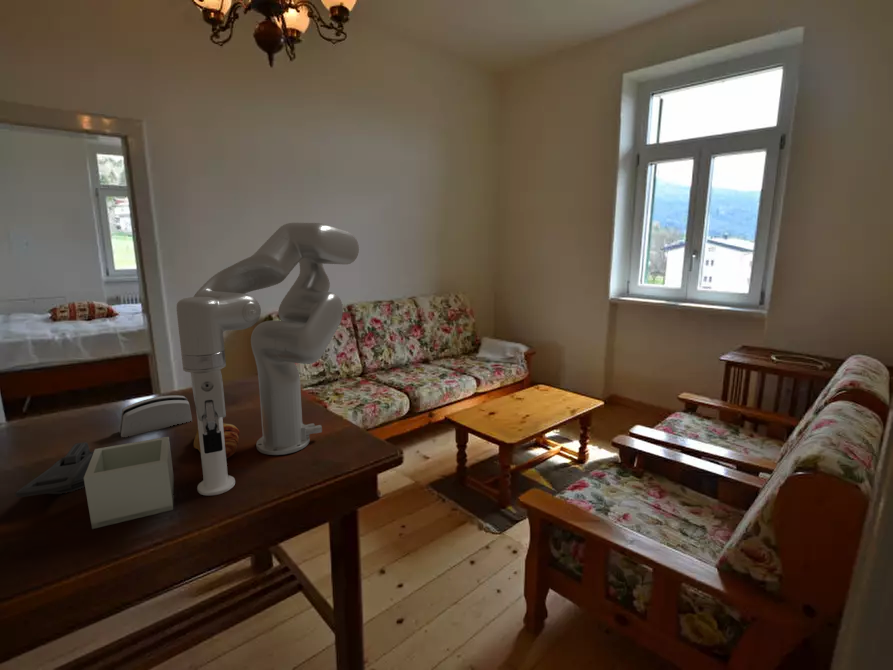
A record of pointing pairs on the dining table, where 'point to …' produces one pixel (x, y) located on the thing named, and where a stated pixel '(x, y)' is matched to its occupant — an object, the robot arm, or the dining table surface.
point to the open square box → (129, 481)
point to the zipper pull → (61, 474)
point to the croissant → (229, 436)
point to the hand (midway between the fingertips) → (212, 442)
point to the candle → (214, 466)
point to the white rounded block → (154, 414)
